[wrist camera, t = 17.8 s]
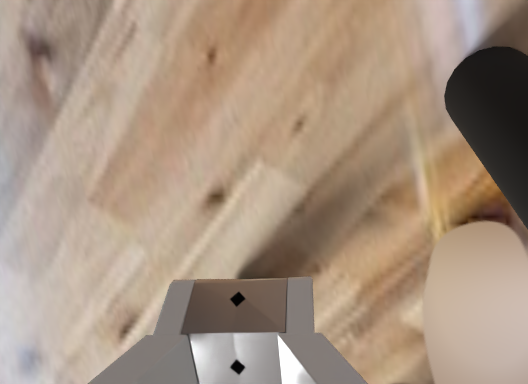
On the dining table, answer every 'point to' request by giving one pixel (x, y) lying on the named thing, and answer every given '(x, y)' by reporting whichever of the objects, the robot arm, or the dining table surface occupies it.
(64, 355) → the dining table surface
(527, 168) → the wine bottle
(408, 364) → the dining table surface
